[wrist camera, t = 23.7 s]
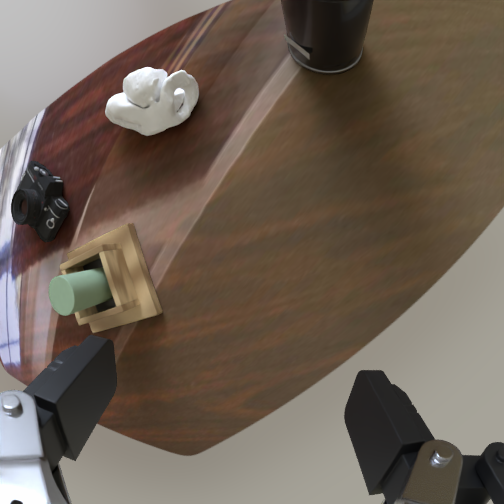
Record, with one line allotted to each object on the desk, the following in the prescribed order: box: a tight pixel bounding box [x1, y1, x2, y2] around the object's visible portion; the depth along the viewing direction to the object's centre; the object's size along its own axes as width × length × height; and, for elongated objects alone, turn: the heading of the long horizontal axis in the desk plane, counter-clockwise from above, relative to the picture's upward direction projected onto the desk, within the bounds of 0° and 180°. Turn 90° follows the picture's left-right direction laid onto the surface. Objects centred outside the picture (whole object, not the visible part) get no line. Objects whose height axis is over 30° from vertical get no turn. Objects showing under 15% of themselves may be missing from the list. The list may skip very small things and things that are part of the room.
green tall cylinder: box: [49, 267, 114, 316], centre depth 34 cm, size 4×4×9 cm
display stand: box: [60, 224, 163, 333], centre depth 37 cm, size 12×12×6 cm
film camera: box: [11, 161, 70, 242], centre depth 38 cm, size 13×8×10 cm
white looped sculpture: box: [105, 67, 199, 136], centre depth 34 cm, size 9×12×8 cm
